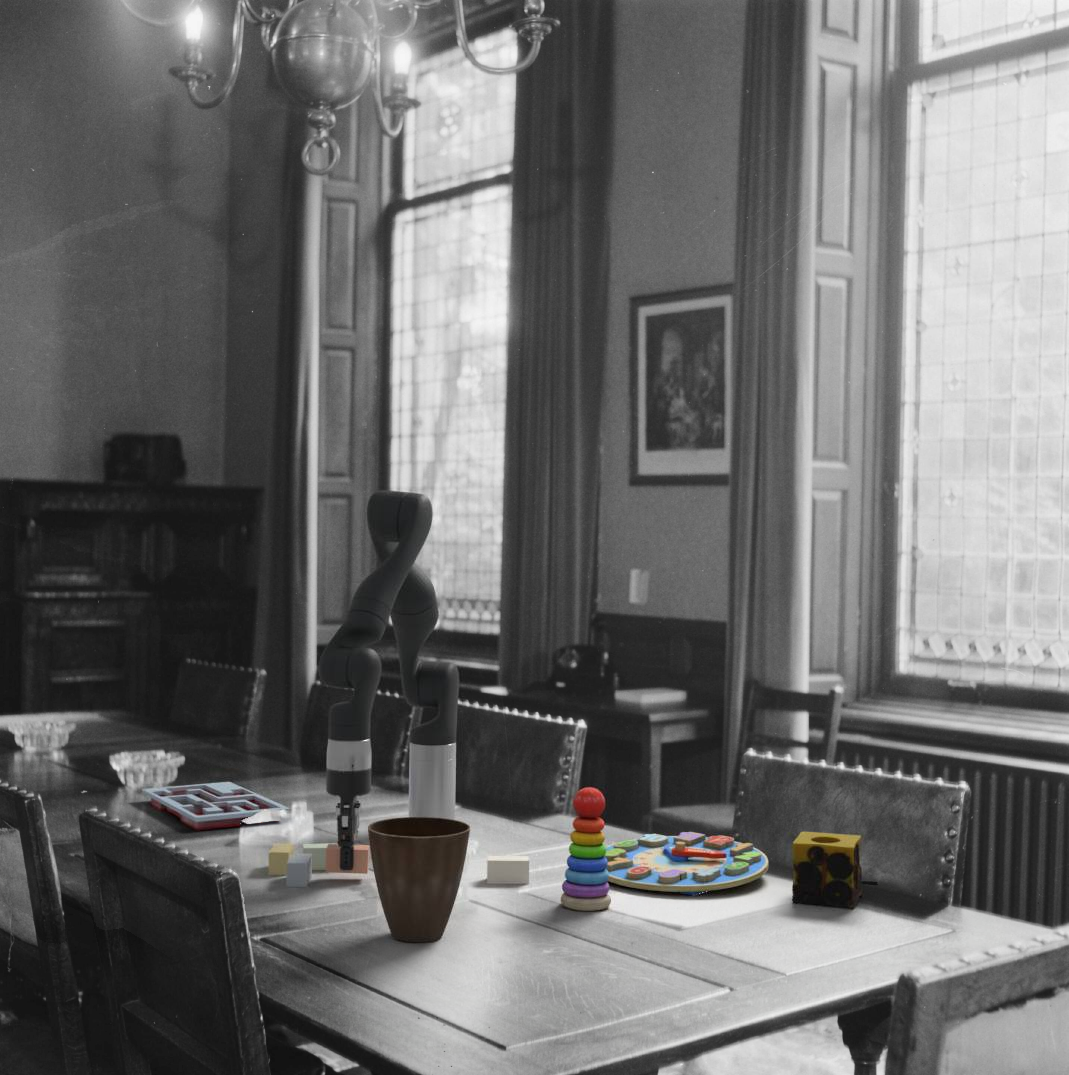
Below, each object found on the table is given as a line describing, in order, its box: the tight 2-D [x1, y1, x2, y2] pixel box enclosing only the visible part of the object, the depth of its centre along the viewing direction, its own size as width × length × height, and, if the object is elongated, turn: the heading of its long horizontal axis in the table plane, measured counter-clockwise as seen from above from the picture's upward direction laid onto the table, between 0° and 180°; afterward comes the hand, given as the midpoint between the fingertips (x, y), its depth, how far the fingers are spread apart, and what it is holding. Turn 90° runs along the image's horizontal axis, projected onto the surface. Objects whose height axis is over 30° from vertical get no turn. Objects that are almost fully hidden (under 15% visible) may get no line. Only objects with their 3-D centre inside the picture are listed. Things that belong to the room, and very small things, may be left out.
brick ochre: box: [267, 842, 296, 876], centre depth 245 cm, size 3×7×4 cm, turn 2°
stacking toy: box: [560, 786, 612, 912], centre depth 225 cm, size 8×8×19 cm
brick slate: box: [285, 853, 313, 888], centre depth 238 cm, size 3×7×4 cm, turn 3°
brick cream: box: [486, 855, 530, 885], centre depth 240 cm, size 3×7×4 cm, turn 93°
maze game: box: [141, 781, 292, 831], centre depth 295 cm, size 35×20×3 cm, turn 32°
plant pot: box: [367, 816, 471, 943], centre depth 206 cm, size 15×15×16 cm
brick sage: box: [302, 842, 338, 871], centre depth 248 cm, size 3×7×4 cm, turn 99°
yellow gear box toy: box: [791, 831, 863, 909], centre depth 231 cm, size 10×10×10 cm
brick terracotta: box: [324, 844, 370, 875], centre depth 239 cm, size 3×7×4 cm, turn 93°
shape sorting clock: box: [604, 831, 769, 896], centre depth 246 cm, size 31×30×6 cm
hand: (347, 866), depth 239 cm, fingers closed on brick terracotta, 3 cm apart
